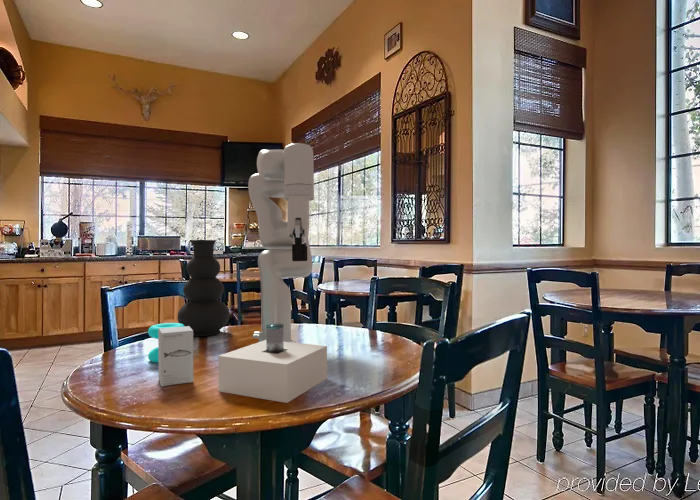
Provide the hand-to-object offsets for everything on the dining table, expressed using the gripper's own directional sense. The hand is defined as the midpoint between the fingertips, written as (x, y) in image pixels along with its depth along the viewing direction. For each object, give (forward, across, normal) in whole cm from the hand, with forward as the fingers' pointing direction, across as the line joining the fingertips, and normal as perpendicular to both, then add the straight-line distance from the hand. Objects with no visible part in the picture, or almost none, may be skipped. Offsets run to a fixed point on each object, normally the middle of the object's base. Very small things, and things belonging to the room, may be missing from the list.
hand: (300, 261), depth 110 cm
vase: (+27, -54, -39) cm, 72 cm away
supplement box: (+29, +2, -30) cm, 42 cm away
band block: (+29, +7, -6) cm, 30 cm away
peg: (+23, +7, -6) cm, 25 cm away
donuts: (+28, -18, -40) cm, 52 cm away
